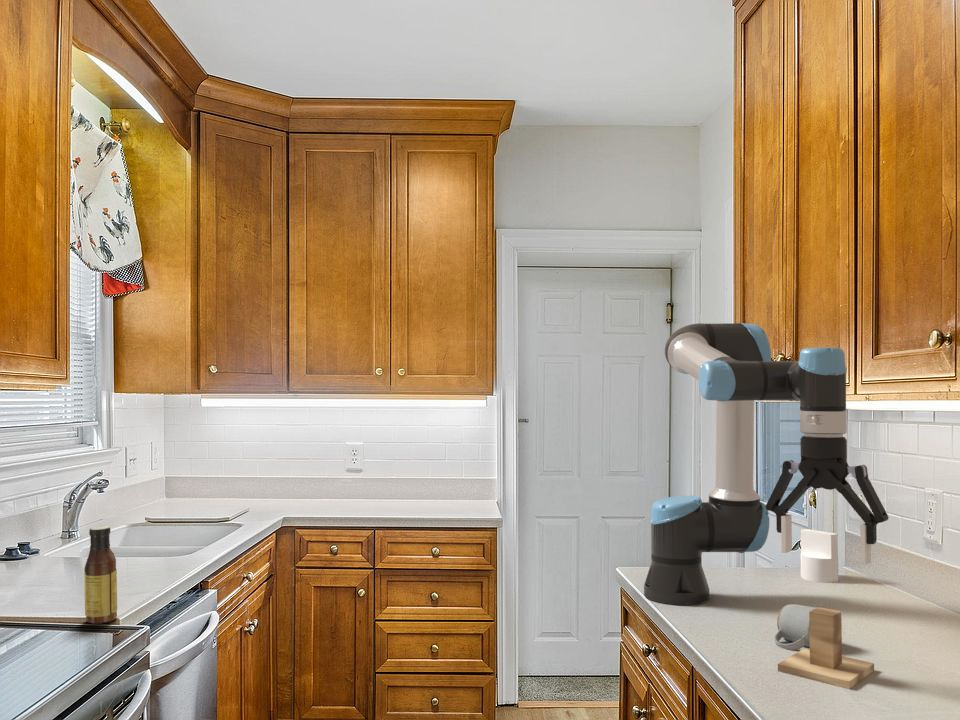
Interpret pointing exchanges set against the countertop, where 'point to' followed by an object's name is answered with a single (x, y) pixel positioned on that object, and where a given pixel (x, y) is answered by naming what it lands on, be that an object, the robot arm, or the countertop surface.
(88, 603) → the sauce bottle
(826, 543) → the base with upright slab
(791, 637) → the ceramic mug
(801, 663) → the wooden plaque with block
